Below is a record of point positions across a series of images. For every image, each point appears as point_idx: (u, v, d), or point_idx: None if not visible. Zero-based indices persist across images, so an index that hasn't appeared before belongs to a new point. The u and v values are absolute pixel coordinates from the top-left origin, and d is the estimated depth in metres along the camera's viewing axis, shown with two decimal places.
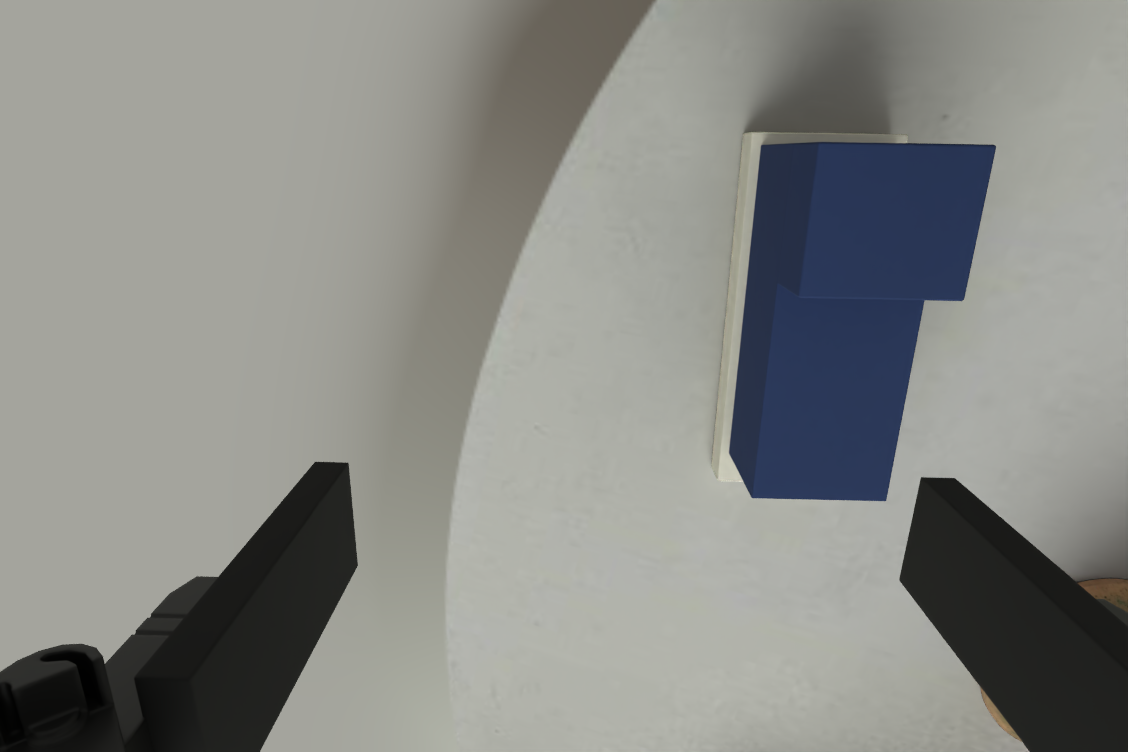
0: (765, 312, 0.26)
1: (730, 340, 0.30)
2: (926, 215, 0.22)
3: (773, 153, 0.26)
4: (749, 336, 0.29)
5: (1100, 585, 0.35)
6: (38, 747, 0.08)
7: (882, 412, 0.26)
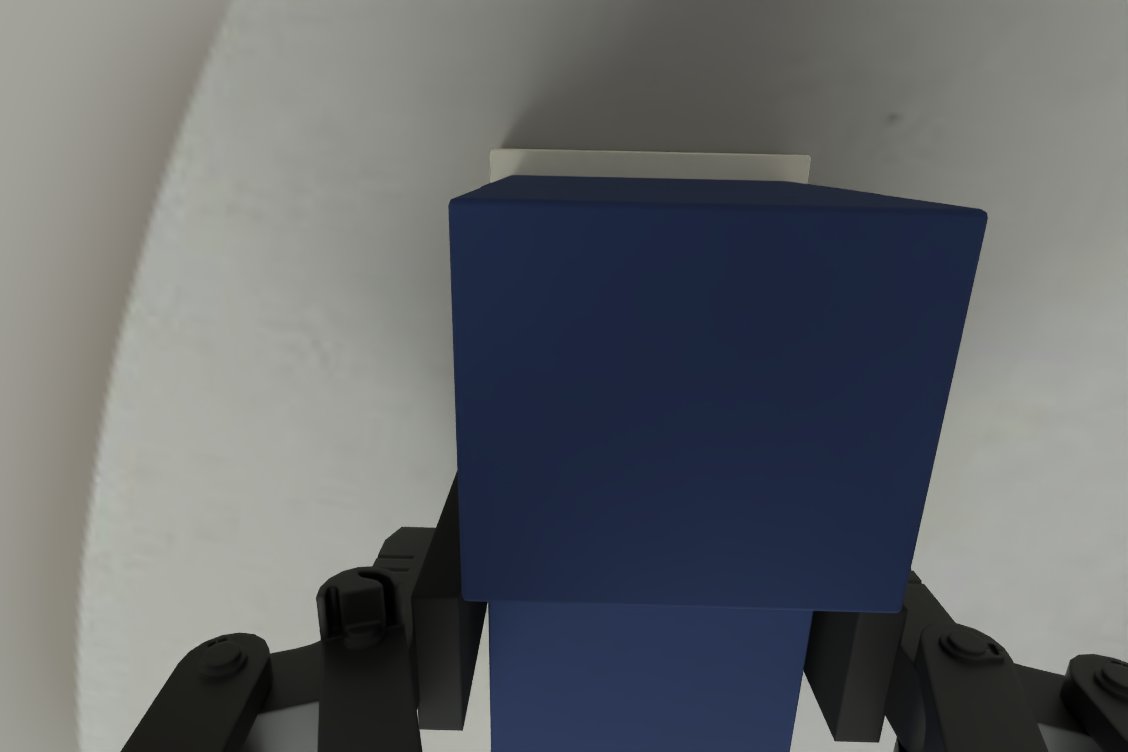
0: None
1: None
2: (786, 406, 0.08)
3: None
4: None
5: None
6: (350, 645, 0.10)
7: (747, 750, 0.12)
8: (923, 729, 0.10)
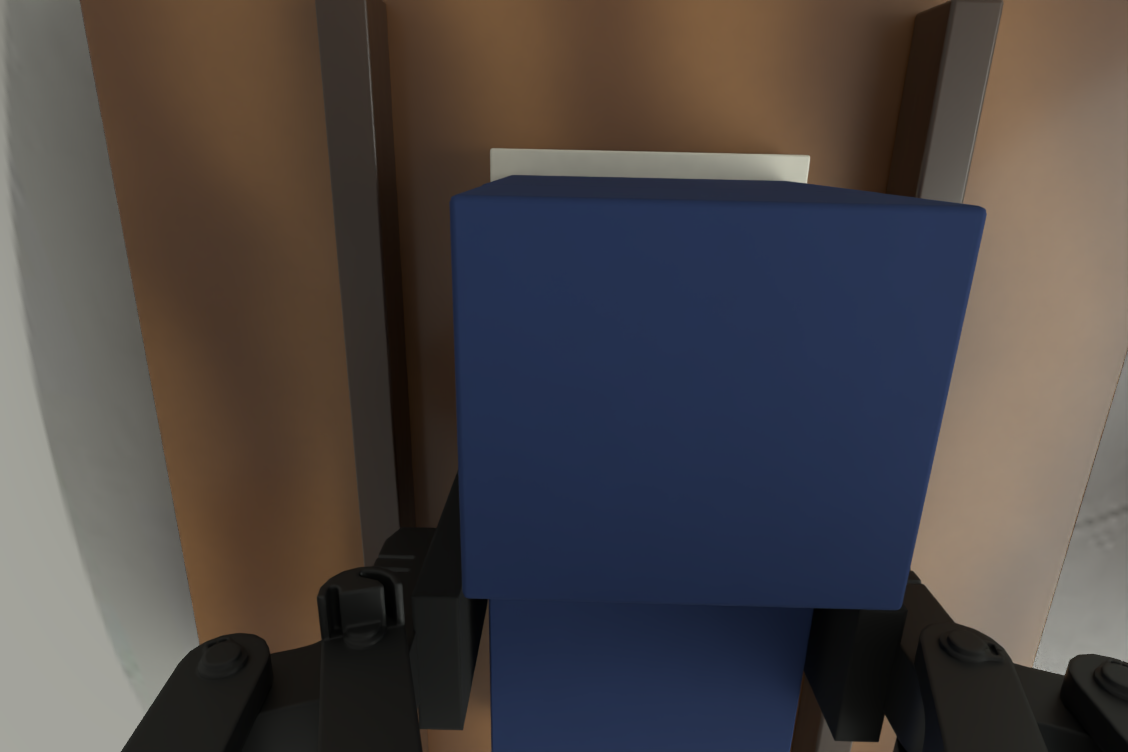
0: None
1: None
2: (787, 404, 0.08)
3: None
4: None
5: None
6: (351, 645, 0.10)
7: (747, 751, 0.12)
8: (923, 729, 0.10)
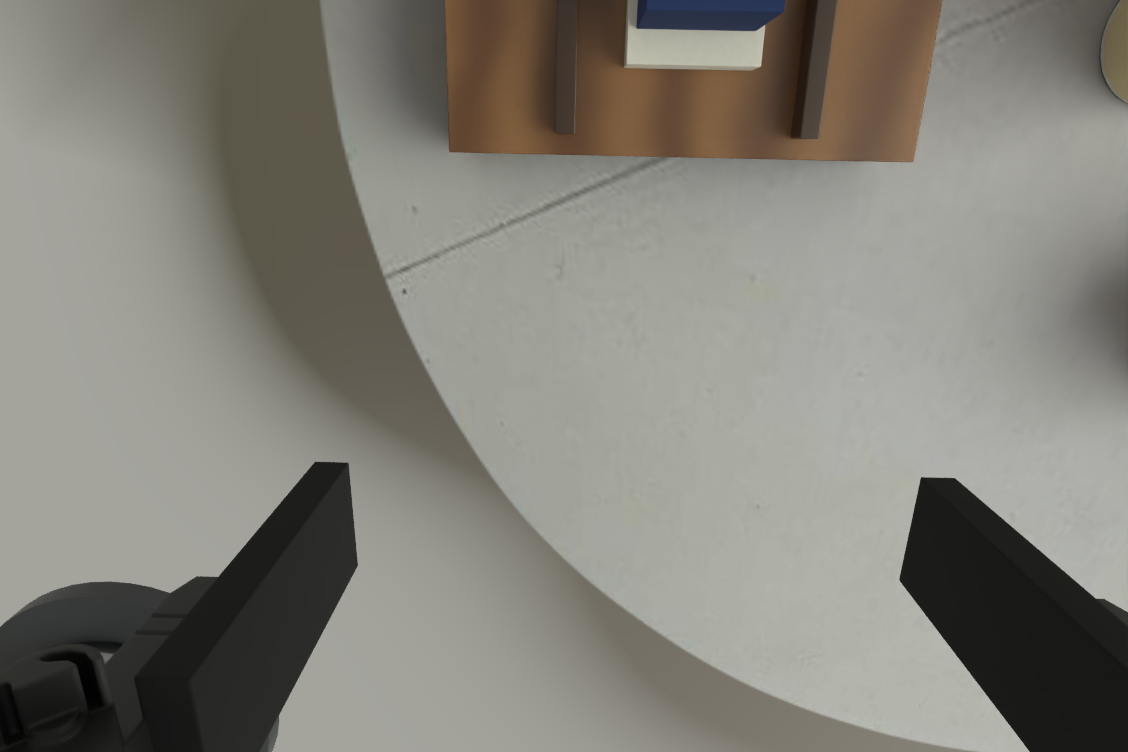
0: None
1: None
2: None
3: None
4: None
5: None
6: (38, 747, 0.08)
7: None
8: None
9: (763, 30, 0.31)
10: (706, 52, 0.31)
